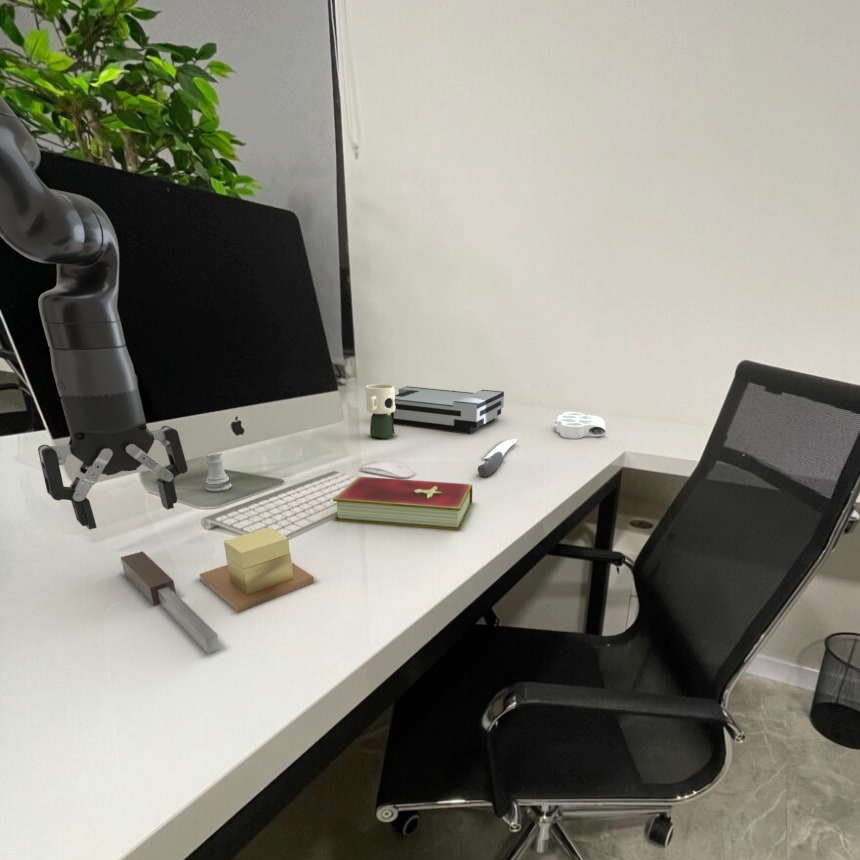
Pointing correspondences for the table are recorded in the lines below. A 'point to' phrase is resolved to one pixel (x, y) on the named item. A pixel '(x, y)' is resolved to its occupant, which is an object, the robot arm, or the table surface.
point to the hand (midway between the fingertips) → (131, 517)
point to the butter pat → (256, 547)
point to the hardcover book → (405, 503)
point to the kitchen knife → (494, 458)
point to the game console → (446, 408)
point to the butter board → (256, 598)
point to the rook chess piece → (216, 473)
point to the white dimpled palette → (579, 425)
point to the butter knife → (167, 598)
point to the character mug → (381, 409)
